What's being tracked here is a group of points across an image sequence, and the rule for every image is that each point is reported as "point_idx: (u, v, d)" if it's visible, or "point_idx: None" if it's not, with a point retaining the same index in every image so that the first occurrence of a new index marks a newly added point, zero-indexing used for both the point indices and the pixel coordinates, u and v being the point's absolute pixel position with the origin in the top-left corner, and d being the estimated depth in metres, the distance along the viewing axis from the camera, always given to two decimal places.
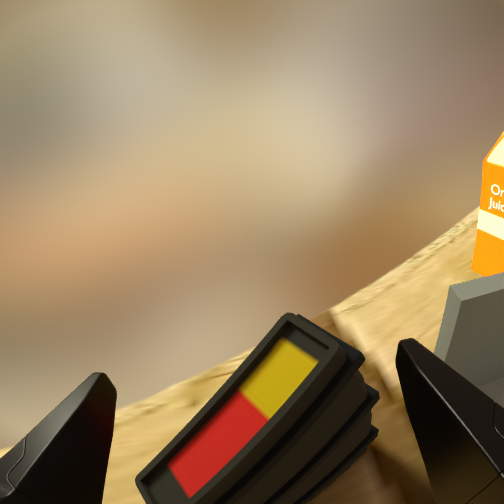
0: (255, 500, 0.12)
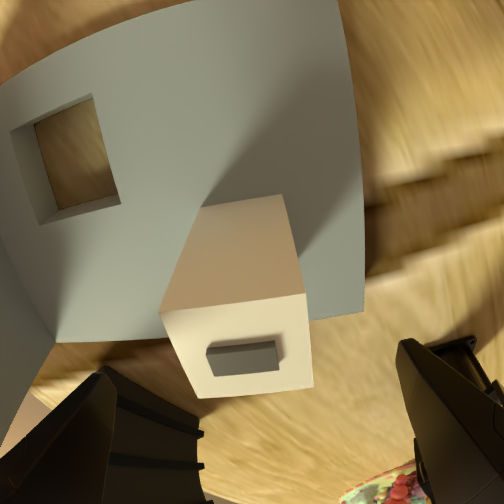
0: (176, 482, 0.21)
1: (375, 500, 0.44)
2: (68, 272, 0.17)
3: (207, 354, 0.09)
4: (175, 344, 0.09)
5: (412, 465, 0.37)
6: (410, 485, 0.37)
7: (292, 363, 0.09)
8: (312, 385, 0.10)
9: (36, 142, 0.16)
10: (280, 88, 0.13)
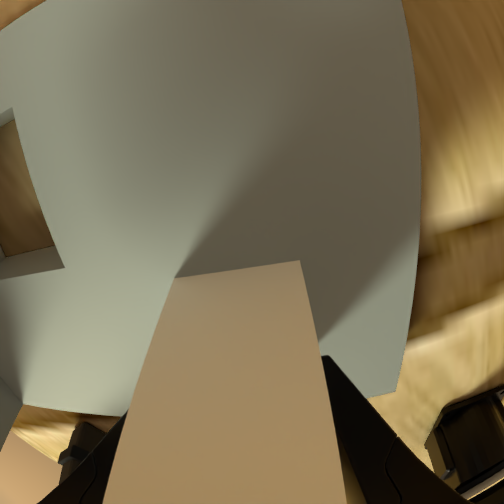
0: None
1: None
2: (19, 340, 0.12)
3: None
4: None
5: None
6: None
7: None
8: None
9: None
10: (301, 89, 0.07)
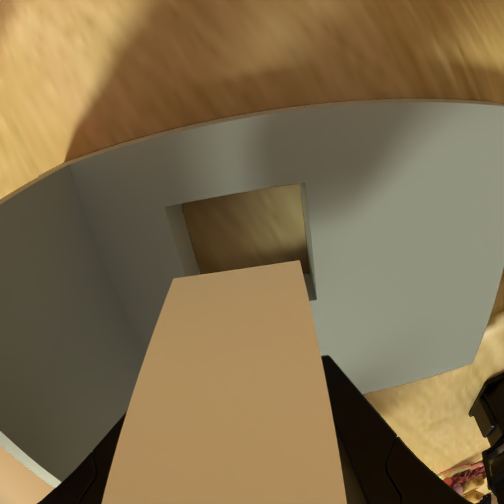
0: None
1: None
2: None
3: None
4: None
5: (455, 469, 0.37)
6: (451, 486, 0.37)
7: None
8: None
9: (182, 213, 0.16)
10: (474, 204, 0.13)
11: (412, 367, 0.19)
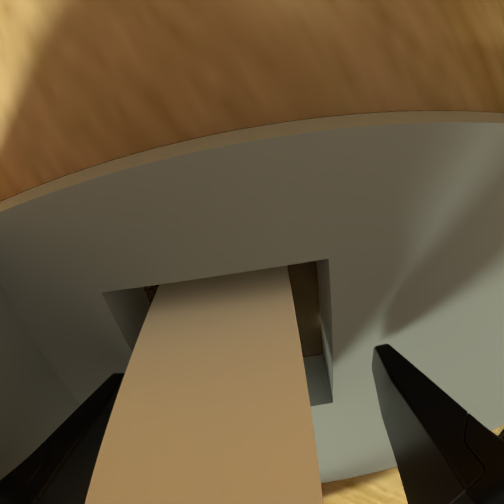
0: None
1: None
2: None
3: None
4: None
5: None
6: None
7: None
8: None
9: None
10: None
11: None
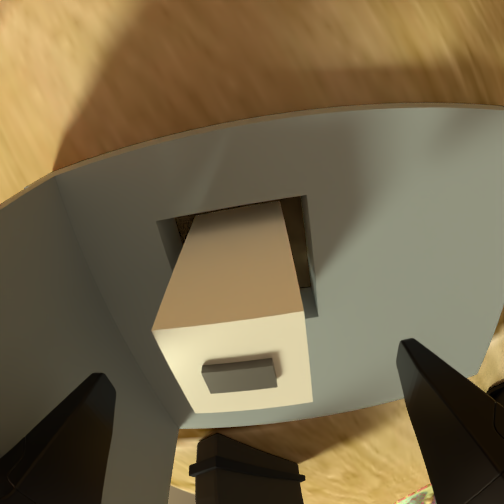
0: None
1: None
2: None
3: (203, 372, 0.09)
4: (170, 362, 0.09)
5: None
6: None
7: (290, 380, 0.09)
8: (311, 400, 0.10)
9: (176, 225, 0.15)
10: (483, 215, 0.12)
11: None
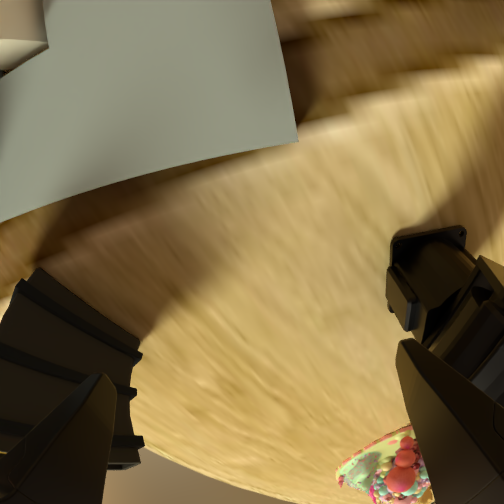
0: None
1: (378, 475, 0.41)
2: None
3: None
4: None
5: None
6: (417, 452, 0.34)
7: None
8: None
9: None
10: None
11: (179, 130, 0.15)
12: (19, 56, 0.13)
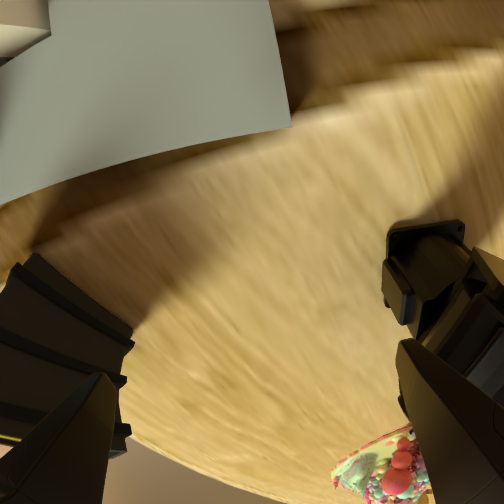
0: None
1: (374, 478, 0.41)
2: (1, 116, 0.14)
3: None
4: None
5: None
6: (414, 454, 0.33)
7: None
8: None
9: None
10: None
11: (174, 115, 0.15)
12: (23, 43, 0.13)
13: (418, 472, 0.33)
